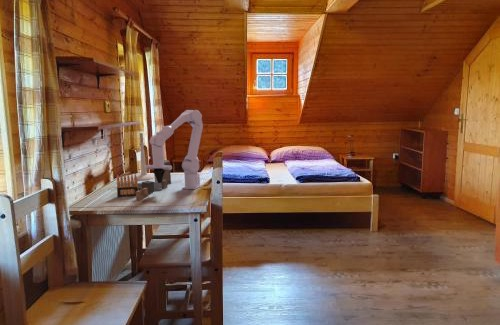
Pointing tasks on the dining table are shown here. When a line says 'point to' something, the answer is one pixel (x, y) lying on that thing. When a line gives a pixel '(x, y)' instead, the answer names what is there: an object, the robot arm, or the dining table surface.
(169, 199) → the dining table surface
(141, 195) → the brown wooden bar
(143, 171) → the candlestick
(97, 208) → the dining table surface
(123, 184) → the ammunition clip
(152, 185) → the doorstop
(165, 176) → the pillar candle
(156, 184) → the door
